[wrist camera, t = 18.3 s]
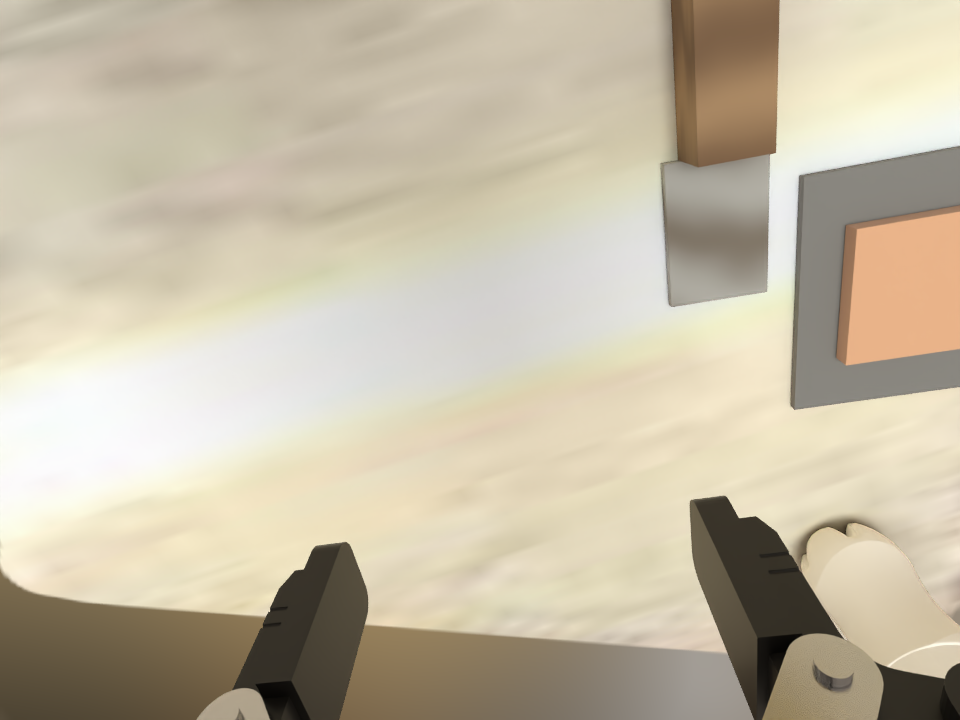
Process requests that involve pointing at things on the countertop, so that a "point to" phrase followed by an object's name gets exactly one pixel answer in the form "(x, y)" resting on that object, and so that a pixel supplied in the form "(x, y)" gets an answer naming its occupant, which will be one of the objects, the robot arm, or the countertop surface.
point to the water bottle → (880, 601)
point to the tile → (900, 287)
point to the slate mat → (820, 267)
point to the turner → (721, 148)
